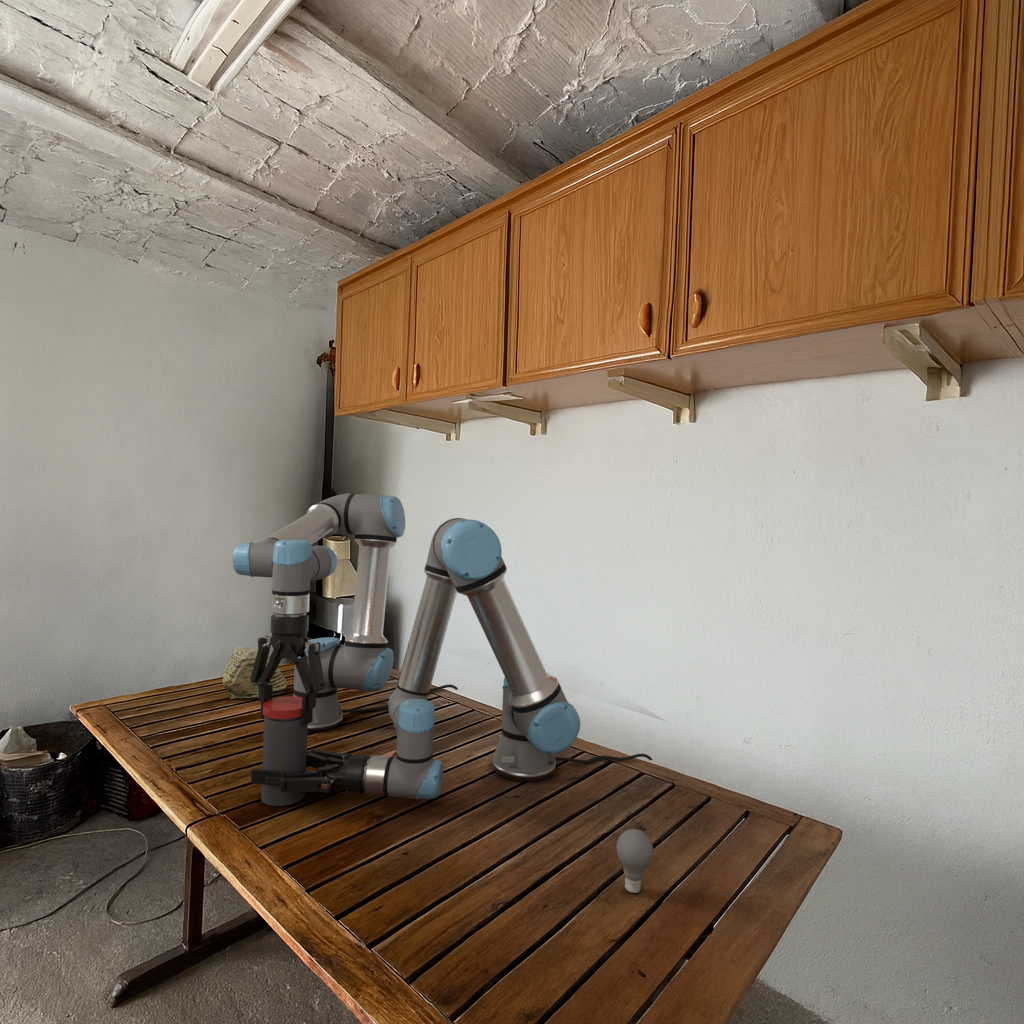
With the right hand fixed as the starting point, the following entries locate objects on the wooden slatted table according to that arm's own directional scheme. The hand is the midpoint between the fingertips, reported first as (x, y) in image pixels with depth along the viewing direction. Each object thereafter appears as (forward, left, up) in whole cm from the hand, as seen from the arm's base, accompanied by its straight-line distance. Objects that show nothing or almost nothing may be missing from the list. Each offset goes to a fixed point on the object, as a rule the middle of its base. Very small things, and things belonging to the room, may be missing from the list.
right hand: (263, 766), depth 134 cm
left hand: (-4, +2, +10) cm, 11 cm away
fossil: (+4, -70, -6) cm, 70 cm away
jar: (-4, +2, -6) cm, 8 cm away
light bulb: (-58, +52, -6) cm, 78 cm away
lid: (-4, +2, +13) cm, 14 cm away
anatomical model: (-27, -6, -6) cm, 28 cm away
